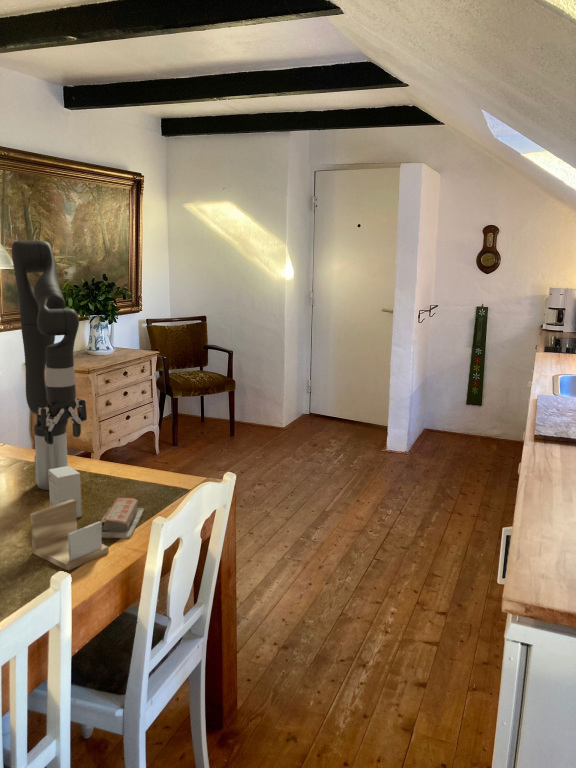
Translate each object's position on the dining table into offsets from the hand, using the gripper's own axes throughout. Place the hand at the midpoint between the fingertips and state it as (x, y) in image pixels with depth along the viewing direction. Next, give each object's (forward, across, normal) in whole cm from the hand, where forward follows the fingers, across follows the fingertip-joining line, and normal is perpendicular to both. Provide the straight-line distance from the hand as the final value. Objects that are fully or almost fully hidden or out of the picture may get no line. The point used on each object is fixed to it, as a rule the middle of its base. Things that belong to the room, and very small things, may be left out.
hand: (63, 440), depth 179 cm
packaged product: (+23, -6, +16) cm, 28 cm away
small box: (+22, 0, 0) cm, 22 cm away
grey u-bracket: (+22, +13, +20) cm, 32 cm away
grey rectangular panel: (+20, +13, +26) cm, 36 cm away
